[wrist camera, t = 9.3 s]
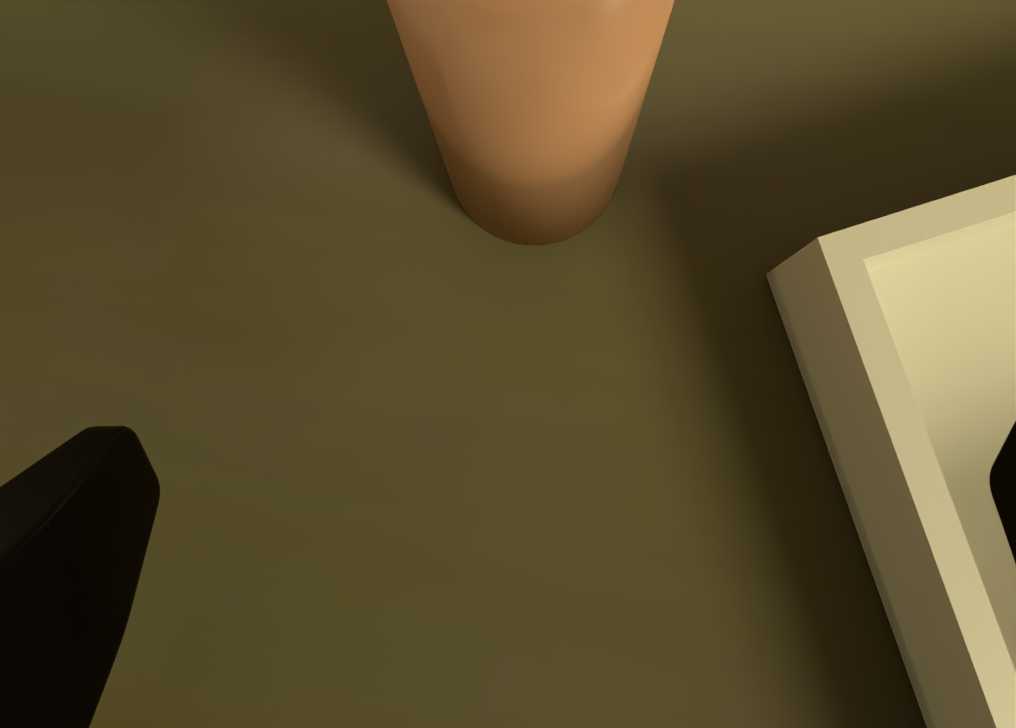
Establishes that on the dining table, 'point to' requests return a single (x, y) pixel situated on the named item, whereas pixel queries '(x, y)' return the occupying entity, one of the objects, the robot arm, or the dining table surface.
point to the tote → (922, 428)
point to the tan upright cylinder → (532, 102)
